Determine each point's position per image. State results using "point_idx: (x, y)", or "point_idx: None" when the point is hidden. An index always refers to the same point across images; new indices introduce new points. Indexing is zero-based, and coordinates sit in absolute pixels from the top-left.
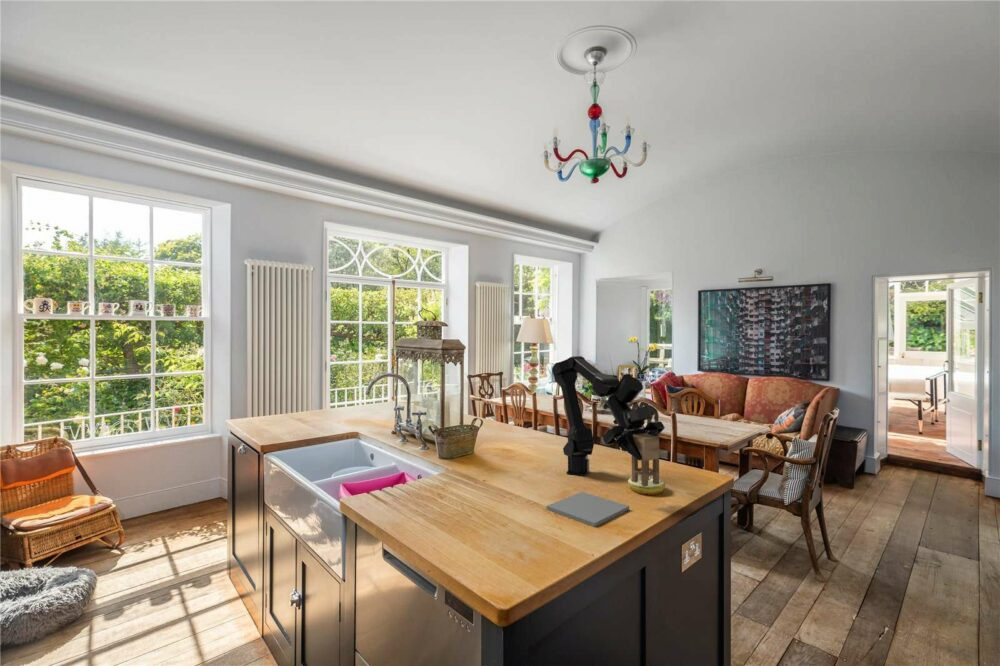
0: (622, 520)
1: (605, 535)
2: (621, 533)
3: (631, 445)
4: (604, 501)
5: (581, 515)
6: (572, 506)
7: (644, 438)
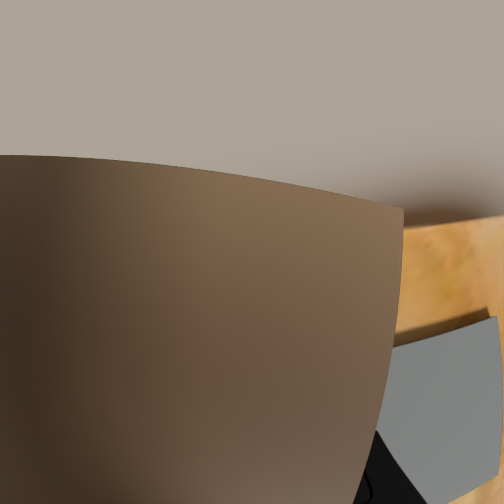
0: (410, 308)
1: (494, 264)
2: (462, 247)
3: (391, 468)
4: None
5: (491, 378)
6: (465, 449)
7: (346, 252)
